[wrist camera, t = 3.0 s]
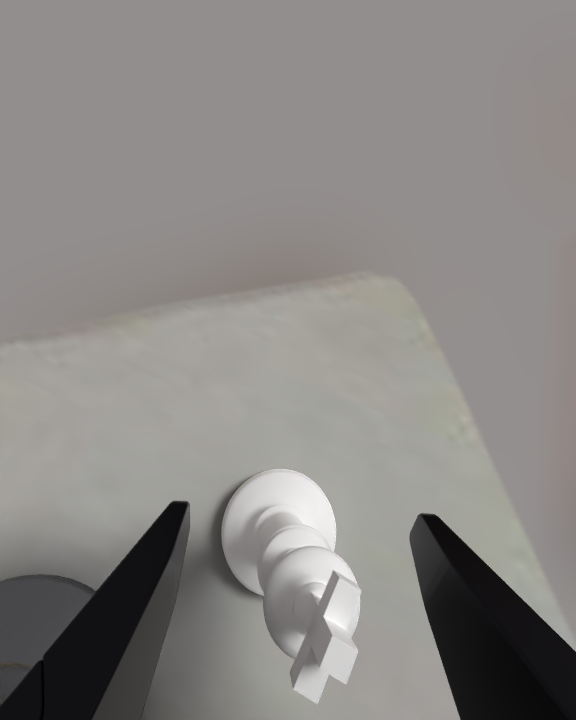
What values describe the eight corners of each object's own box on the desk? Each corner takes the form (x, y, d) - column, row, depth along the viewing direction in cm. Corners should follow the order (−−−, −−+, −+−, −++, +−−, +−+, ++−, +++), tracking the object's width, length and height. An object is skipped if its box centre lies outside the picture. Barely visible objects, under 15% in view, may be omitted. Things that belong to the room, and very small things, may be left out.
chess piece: (198, 555, 14) (82, 772, 4) (258, 448, 15) (275, 425, 6) (301, 618, 13) (433, 1002, 4) (352, 503, 15) (533, 573, 5)
